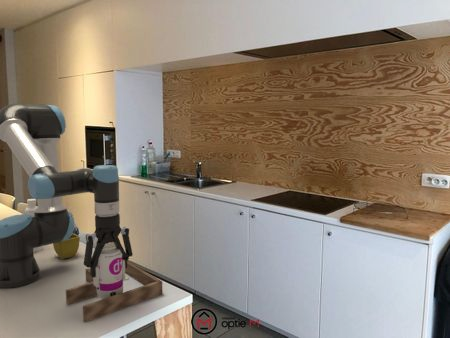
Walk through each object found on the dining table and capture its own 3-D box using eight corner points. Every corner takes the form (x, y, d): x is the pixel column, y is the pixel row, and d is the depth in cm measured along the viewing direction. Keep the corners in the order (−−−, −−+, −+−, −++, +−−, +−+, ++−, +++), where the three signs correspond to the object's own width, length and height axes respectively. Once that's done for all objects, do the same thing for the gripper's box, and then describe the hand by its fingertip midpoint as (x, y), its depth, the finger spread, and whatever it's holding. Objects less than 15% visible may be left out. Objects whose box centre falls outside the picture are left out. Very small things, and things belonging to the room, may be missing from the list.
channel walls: (84, 322, 107) (84, 307, 106) (53, 290, 127) (52, 277, 127) (162, 293, 125) (162, 281, 124) (124, 269, 145) (123, 258, 144)
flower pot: (81, 256, 159) (80, 236, 158) (61, 261, 153) (59, 241, 152) (72, 251, 165) (71, 232, 164) (52, 256, 159) (51, 236, 158)
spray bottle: (25, 253, 163) (22, 198, 159) (27, 248, 169) (23, 195, 166) (42, 251, 165) (39, 196, 162) (43, 246, 171) (40, 194, 168)
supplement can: (128, 292, 121) (127, 249, 119) (108, 302, 114) (106, 256, 112) (111, 286, 125) (110, 244, 124) (91, 296, 119) (89, 251, 117)
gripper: (78, 222, 107) (81, 296, 110) (142, 211, 121) (144, 276, 124) (69, 217, 112) (72, 287, 115) (131, 207, 126) (133, 270, 129)
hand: (109, 281), depth 119 cm, fingers closed on supplement can, 8 cm apart
